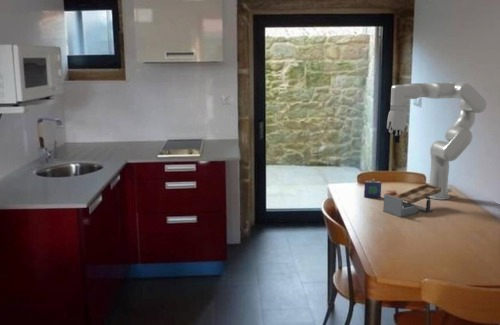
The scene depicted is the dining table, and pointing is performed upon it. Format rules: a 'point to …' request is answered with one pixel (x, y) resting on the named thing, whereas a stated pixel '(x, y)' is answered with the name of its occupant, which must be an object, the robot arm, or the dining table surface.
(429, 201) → the pivot stand
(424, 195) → the brown flat piece
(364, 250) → the dining table surface
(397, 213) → the cup
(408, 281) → the dining table surface
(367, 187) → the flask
